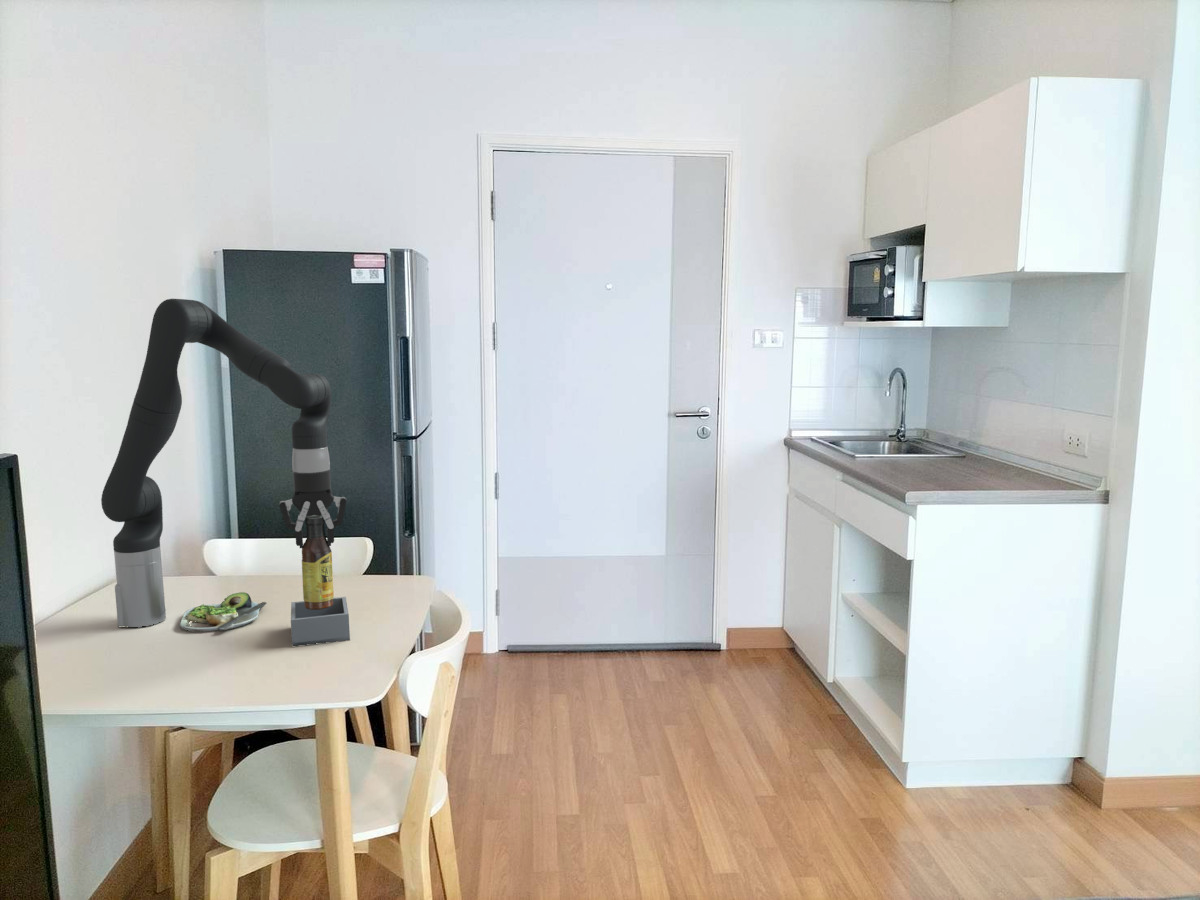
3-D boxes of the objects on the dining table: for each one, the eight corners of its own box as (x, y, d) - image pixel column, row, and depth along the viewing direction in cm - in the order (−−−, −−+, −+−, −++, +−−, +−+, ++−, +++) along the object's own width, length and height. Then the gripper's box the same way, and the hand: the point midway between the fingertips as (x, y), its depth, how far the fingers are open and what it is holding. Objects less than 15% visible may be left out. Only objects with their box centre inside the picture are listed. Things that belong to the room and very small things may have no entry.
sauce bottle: (328, 611, 184) (323, 520, 181) (299, 611, 184) (294, 520, 181) (338, 601, 190) (333, 513, 187) (310, 601, 190) (305, 513, 187)
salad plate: (261, 632, 190) (260, 612, 189) (172, 642, 185) (170, 621, 184) (268, 605, 208) (267, 587, 207) (187, 613, 203) (186, 594, 202)
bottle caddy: (292, 646, 180) (290, 620, 179) (292, 627, 192) (291, 602, 191) (349, 640, 184) (348, 614, 183) (346, 621, 196) (345, 596, 195)
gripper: (274, 473, 177) (279, 553, 179) (347, 469, 181) (351, 547, 184) (275, 467, 184) (280, 545, 186) (345, 463, 188) (349, 539, 191)
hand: (315, 545), depth 185 cm, fingers closed on sauce bottle, 5 cm apart
